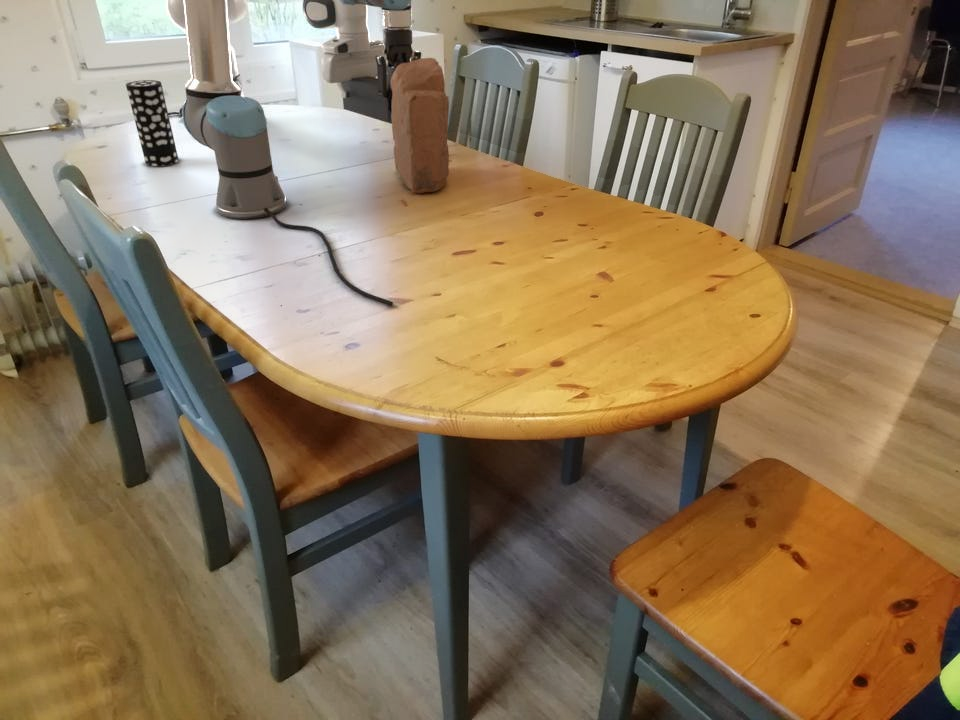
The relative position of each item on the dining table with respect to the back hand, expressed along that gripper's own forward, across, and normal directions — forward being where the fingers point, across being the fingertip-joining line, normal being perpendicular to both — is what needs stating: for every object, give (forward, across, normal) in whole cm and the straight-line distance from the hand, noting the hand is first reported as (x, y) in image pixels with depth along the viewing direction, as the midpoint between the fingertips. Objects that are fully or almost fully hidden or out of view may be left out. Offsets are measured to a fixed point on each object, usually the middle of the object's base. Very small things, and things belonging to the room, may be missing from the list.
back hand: (357, 95), depth 199 cm
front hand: (+4, 0, +20) cm, 20 cm away
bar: (+4, 0, +10) cm, 11 cm away
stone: (+13, +10, +40) cm, 43 cm away
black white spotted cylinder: (+3, +52, -19) cm, 56 cm away
